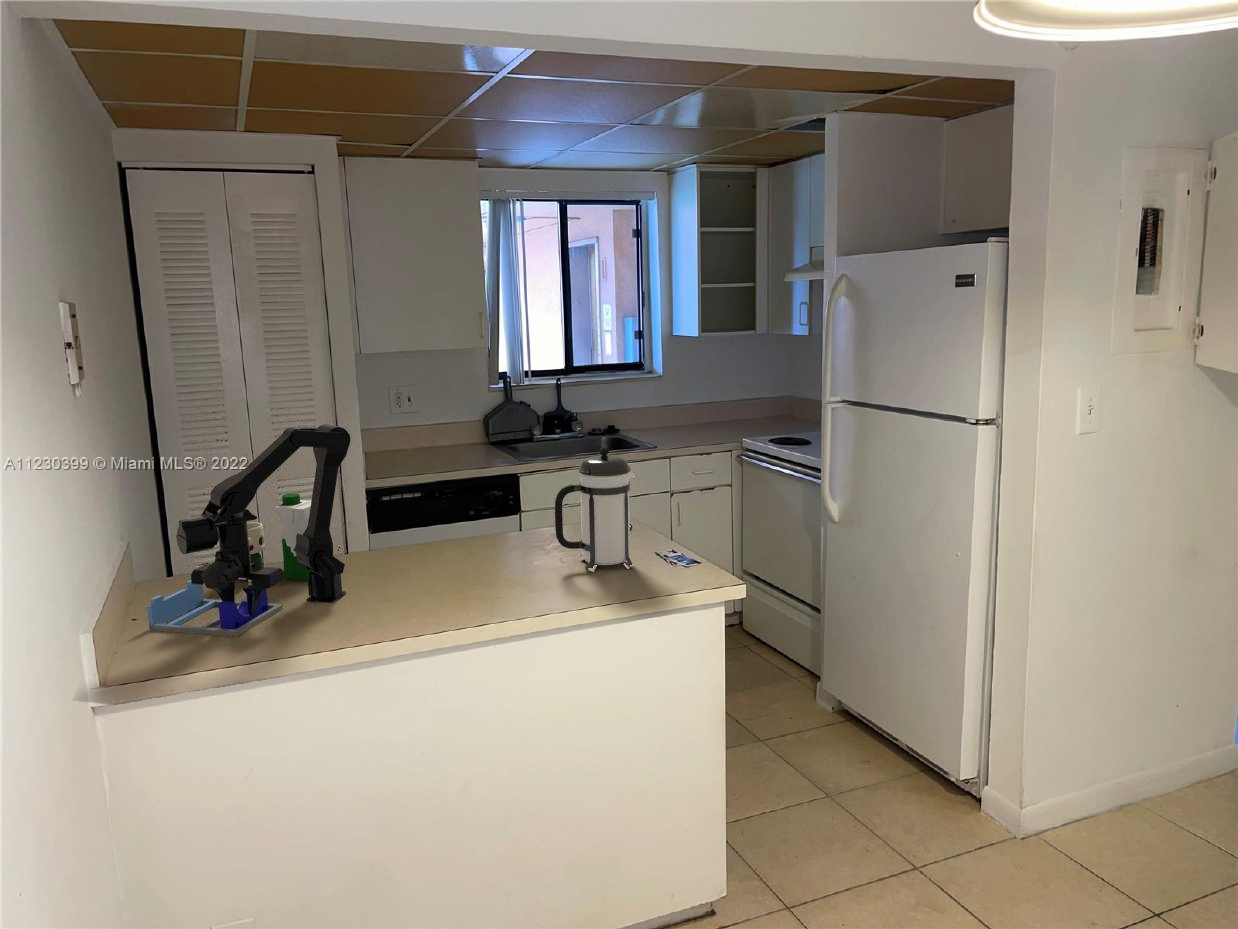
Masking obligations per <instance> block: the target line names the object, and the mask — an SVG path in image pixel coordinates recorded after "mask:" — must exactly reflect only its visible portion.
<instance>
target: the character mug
mask: <svg viewBox="0 0 1238 929" xmlns="http://www.w3.org/2000/svg"><path fill="white" fill-rule="evenodd" d="M247 529H248V538H249V545H253V548H254V549H253V550H251V551H250V558H251V563H255V569H253V570H252V572H258V571H260V570H262V569H263V568H265V565H264V562H263V557H262V554H261V552H262V551H263V550H265V537H264V527H263V524H262V523H261V522H247ZM244 576H245V575H244Z"/></svg>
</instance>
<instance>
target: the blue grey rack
mask: <svg viewBox="0 0 1238 929" xmlns="http://www.w3.org/2000/svg"><path fill="white" fill-rule="evenodd" d="M204 592H205V591H204V584H192V583H191V579H190V580H187V581H186V587H185V588H183V589H180V590H178V591H177V592H175V593H173V594H171V595H168V596H166V597H165V598H164V595H163V594H162V595H159V594H158V595H156V596H154V597H152V598H150V605H148V606H147V605H146V612H147V619H148V620H147V621H148V627H149V630H150V631H160V630H166V631H165V632H173V633H174V632H177V633H186V634H199V635H200V634H202V635H213V636H214V635H215V636H227V637H239V636H240V635H242V634H244V633H245V632H247V631H249V630H250V629H252V628H253V627H255V626H256V625H259V624H261V623H262V622H263V621H265V620H267V619H268V618H270V617H271V616H274V615H275V614H277V613H278V612H280V611H282V610H283V609H284V608H283V604H281V603H270V602H268V609H269V610H268V611H266V612H264V613H263V614H261V615H259V616H258V617H256V618H254V619H253V620H251V621H249V622H247V623H246V624H244V625H242V626H241V627H239V628H237V629H236V630H232V629H221V628H215V627H217V626H219V625H220V616H219V617H217V618H215V619H213V620H211V621H209V622H207V623H206V624H204V625H202V626H192V625H191V626H190V625H182V623H183V624H185V623H187V622H188V621H190V620H192V619H194V618H196V617H198V616H199V615H201V614H203V613H204V611H205V612H206V610H207V609H209V610H210V608H211V609H213V608H214V607H217V606H218V604H219V603H220V602H222V600H221V599H213V598H212V599H210V598H209V599H208V598H205V593H204ZM235 602H236V606H237V609H238V608H239V606H240V604H241V602H242V600H241V601H240V600H235ZM202 604H203V605H202ZM197 606H199V607H197ZM213 606H214V607H213ZM196 607H197V608H196ZM194 608H195V609H194ZM191 609H193V610H191ZM189 610H191V611H189ZM188 611H189V612H188ZM207 611H208V610H207ZM184 613H185V614H184ZM200 613H201V614H200ZM182 614H183V615H182ZM178 616H179V617H178ZM195 616H196V617H195ZM177 617H178V618H177ZM175 618H176V619H175ZM172 619H174V620H172ZM189 619H190V620H189ZM171 620H172V621H171ZM169 621H170V623H169ZM167 622H168V623H167ZM164 623H166V624H164ZM180 624H181V625H180ZM213 627H214V628H213Z"/></svg>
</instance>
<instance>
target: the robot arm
mask: <svg viewBox="0 0 1238 929" xmlns="http://www.w3.org/2000/svg"><path fill="white" fill-rule="evenodd" d="M350 444H351V435H350V433H349V432H348V430H347V429H345V428H344V427H340V426H337V425H332V424H329V423H328V424H321V425H319V426H318V427H317V428H316V427H300V428H299V427H297V428H296V427H292V426H290V427H287V428H285V429H284V430H283V432H282V434H280V435H279V436H278V437H277V438H276V439H275V440H274V441H273V442H271V444H270V445H268V446H267V448H265V449H264V450H263V451H262V452H261V453H260V454H259V455H258V456H257V457H255V458H254V460H252V461H251V462H250V463H249V464H248V465H247V466H246V467H245V468H244V469H242V470H241V471H240V472H238V473H236V474H233V475H231V476H229V477H227V478H226V479H224V480H222V481H221V482H219V483H218V484H216V485H215V486H214V487H213V488H212V489H211V491H210V499H209V501H208V502H207V504H206V506H205V507H204V509H203V511H202V512H201V514H200V517H197V518H196V517H195V518H191V519H185V518H184V519H180V520H179V521H178V527H177V531H176V534H175V536H176V537H175V539H176V543H177V547H178V549H179V551H180V553H181V554H182V555H188V554H193V553H197V552H202V551H207V550H211V549H214V548H215V546H218V547H219V548H218V550H216V551H215V556H214V557H215V559H214V561H213V562H212V563H205V564H203V565H201V566H199V567H197V568H195V569H193V570H192V571H191V573H190V580H191V583H192V584H203V585H204V586H205V588H206V589H211V590H212V591H214V592H216V593H217V595H218V596H219V598H220V600H222V601H227V602H235V601H236V599H235V598H236V596H235V593H236V590H235V589H236V588H235V585H236V584H235V583H236V582H237V581H248V582H247V584H248V585H247V586H244V587H242V591H243V592H244V593H245V594H246V599H247V603H248V611H249V615H250V616H252V615H254V613H255V611H256V608H257V605H258V602H259V600H260V597H261V594H262V592H263V590H264V588H265V589H267V590H268V589H271V588H273V587H275V586H276V585H278V584H280V583H282V582H284V581H285V579H286V578H285V577H284V569H283V568H281V567H273V566H272V567H270V566H269V567H268V566H264V568H263V569H262V570H260V571H258V572H252V570H253V569H255V563H251V558H250V551H251V550H253V549H254V548H253V545H249V538H248V529H247V523H248V522H249V521H254V520H256V521H257V519H258V516H257V515H255V514H253V513H252V512H251V511H250V510H249V509H247V508H248V507H249V505H250V503H251V502H252V500H254V498H255V497H256V495H257V492H258V490H259V488H260V486H262V484H263V483H264V482H266V480H268V479H269V477H270V476H272V475H273V473H275V472H276V471H277V470H278V469H279V468H280V467H281V466H282V465H283V464H284V463H285V462H286V461H287V460H288V459H290V457H292V456H293V455H294V454H295V453H296V452H297V451H298V450H299V449H300V448H303V447H304V448H312V451H313V456H314V459H315V462H316V467H315V472H314V481H313V488H312V495H311V507H310V514H309V520H308V526H307V528H306V530H305V531H304V533H303V534H297V535H296V545H295V548H294V550H293V551H295V552H296V558H297V559H298V561H299V562H300V563H302V564H303V565H304V566H305V568H306V570H309V571H311V572H309V578H308V579H307V580H306V581H307V590H308V596H309V597H307V598H306V602H313V603H327V604H328V603H329V604H331V603H335V602H336V601H338V600H339V599H340V598H342V597H344V596H345V595H346V594H347V591H346V590H345V591H344V590H343V585H342V574H343V573H344V569H345V565H346V564H345V563H344V562H343V561H341V560H339V559H338V558H337V557H335V556H334V542H333V541H334V540H333V539H332V534H331V529H330V528H331V522H332V517H333V516H332V515H333V508H334V502H335V496H336V495H335V494H336V488H337V481H338V476H339V469H340V466H341V465H342V463H343V461H344V460H345V458H346V457H347V454H348V451H349V448H350V446H351V445H350ZM244 575H245V576H244Z"/></svg>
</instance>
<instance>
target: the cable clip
mask: <svg viewBox="0 0 1238 929" xmlns="http://www.w3.org/2000/svg"><path fill="white" fill-rule="evenodd" d="M268 603H269V601H268V588H267V589H265V588H264V590H263V592H262V594H261V597H260V600H259V602H258V605H257V608H256V611H255V613H254V615H252V616H250V615H249V611H248V603H247V598H244V599H243V600H241V604H240V606H239V608H238V609H237V606H236V602H227V601H222V602H220V603H219V604H218V612H219V613H218V616H219V617H220V624H219V625H220V629H232V630H236V629H237V628H239V627H241V626H242V625H244V624H246V623H247V622H249V621H251V620H253V619H254V618H256V617H258V616H259V615H261V614H263V613H264V612H266V611H268V610H269V609H268Z"/></svg>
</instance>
